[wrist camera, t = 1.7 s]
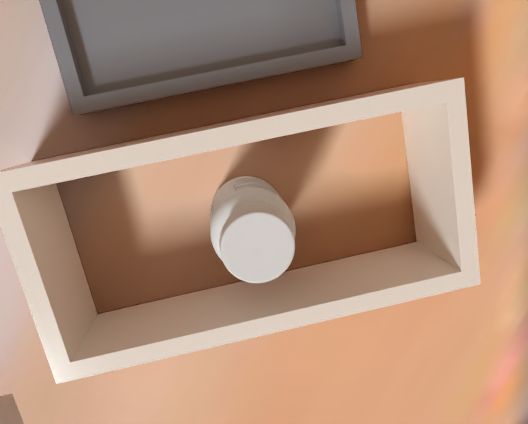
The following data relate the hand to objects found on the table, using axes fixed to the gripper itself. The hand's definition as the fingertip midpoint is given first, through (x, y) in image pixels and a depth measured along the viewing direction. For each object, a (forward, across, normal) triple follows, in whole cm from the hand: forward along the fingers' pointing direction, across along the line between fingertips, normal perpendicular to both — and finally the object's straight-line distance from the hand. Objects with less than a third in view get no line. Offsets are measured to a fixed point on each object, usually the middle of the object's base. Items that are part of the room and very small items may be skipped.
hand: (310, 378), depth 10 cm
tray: (+18, 0, -12) cm, 21 cm away
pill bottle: (+18, 0, 0) cm, 18 cm away
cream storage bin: (+18, 0, 0) cm, 18 cm away
